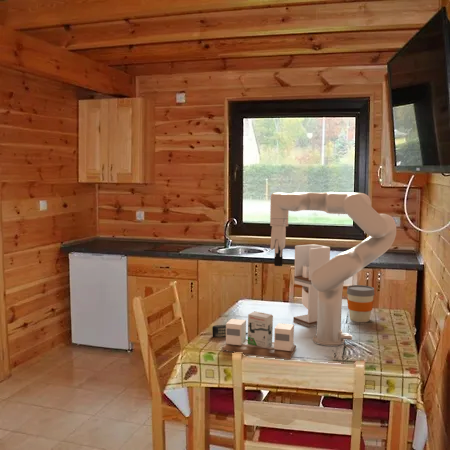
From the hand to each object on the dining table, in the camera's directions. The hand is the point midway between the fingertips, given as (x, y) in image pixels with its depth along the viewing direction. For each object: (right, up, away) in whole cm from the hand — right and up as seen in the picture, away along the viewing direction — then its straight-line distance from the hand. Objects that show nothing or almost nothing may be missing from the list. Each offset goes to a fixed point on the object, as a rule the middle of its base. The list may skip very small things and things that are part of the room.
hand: (278, 265), depth 220 cm
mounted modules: (-9, -29, -19) cm, 36 cm away
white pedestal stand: (+17, -28, +19) cm, 37 cm away
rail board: (-9, -31, -19) cm, 37 cm away
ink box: (-9, -29, -19) cm, 36 cm away
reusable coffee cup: (+41, -27, +25) cm, 55 cm away
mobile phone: (-20, -30, -2) cm, 36 cm away
